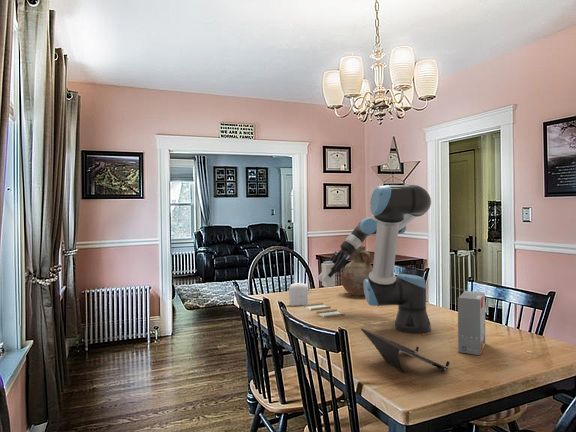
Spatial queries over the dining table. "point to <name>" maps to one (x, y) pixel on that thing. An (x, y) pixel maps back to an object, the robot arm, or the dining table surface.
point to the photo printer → (298, 294)
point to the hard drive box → (471, 322)
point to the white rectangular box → (325, 269)
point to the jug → (356, 273)
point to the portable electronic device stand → (397, 351)
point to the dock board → (326, 312)
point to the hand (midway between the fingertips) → (321, 280)
